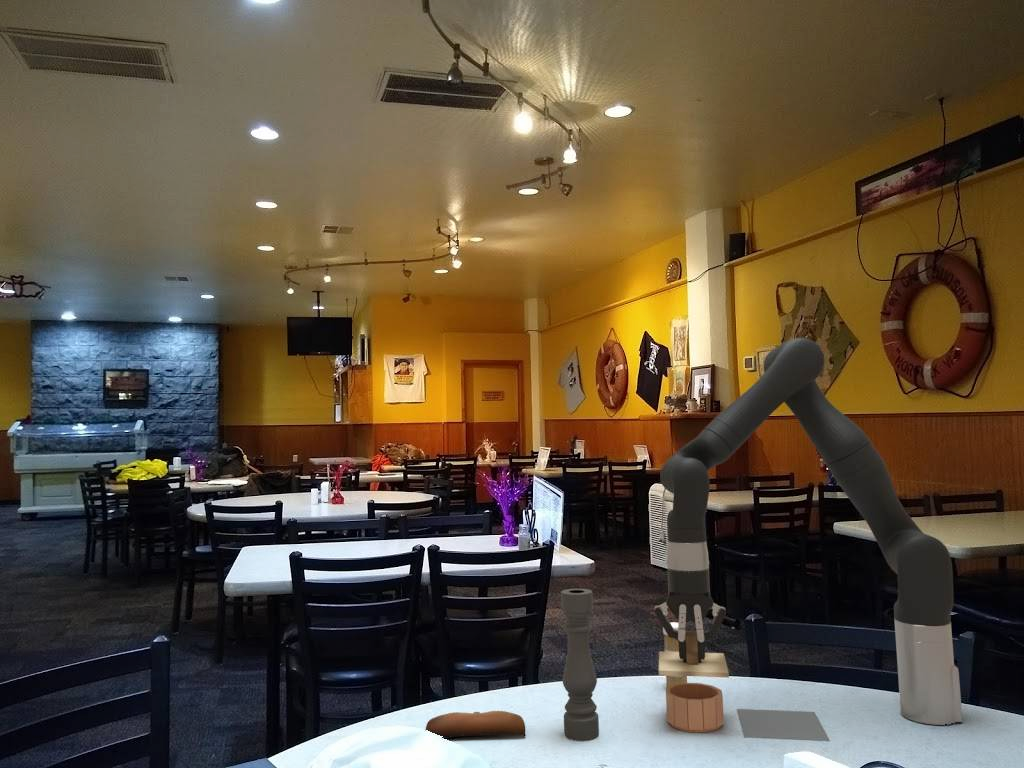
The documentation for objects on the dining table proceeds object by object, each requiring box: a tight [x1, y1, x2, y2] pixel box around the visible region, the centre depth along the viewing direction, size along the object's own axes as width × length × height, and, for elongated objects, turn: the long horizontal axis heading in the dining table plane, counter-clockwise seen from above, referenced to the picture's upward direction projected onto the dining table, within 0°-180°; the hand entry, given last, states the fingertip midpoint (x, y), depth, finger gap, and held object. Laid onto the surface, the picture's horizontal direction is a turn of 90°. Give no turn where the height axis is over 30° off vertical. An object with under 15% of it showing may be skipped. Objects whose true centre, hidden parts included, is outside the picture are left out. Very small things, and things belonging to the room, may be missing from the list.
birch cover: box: [658, 630, 730, 678], centre depth 139 cm, size 12×12×6 cm
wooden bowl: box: [665, 682, 725, 733], centre depth 138 cm, size 10×10×6 cm
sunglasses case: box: [425, 710, 527, 739], centre depth 137 cm, size 18×7×7 cm, turn 90°
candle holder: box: [560, 588, 600, 742], centre depth 136 cm, size 6×6×25 cm
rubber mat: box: [736, 708, 831, 742], centre depth 136 cm, size 14×14×1 cm
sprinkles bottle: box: [662, 621, 688, 689], centre depth 157 cm, size 5×5×13 cm
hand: (692, 661), depth 139 cm, fingers closed on birch cover
